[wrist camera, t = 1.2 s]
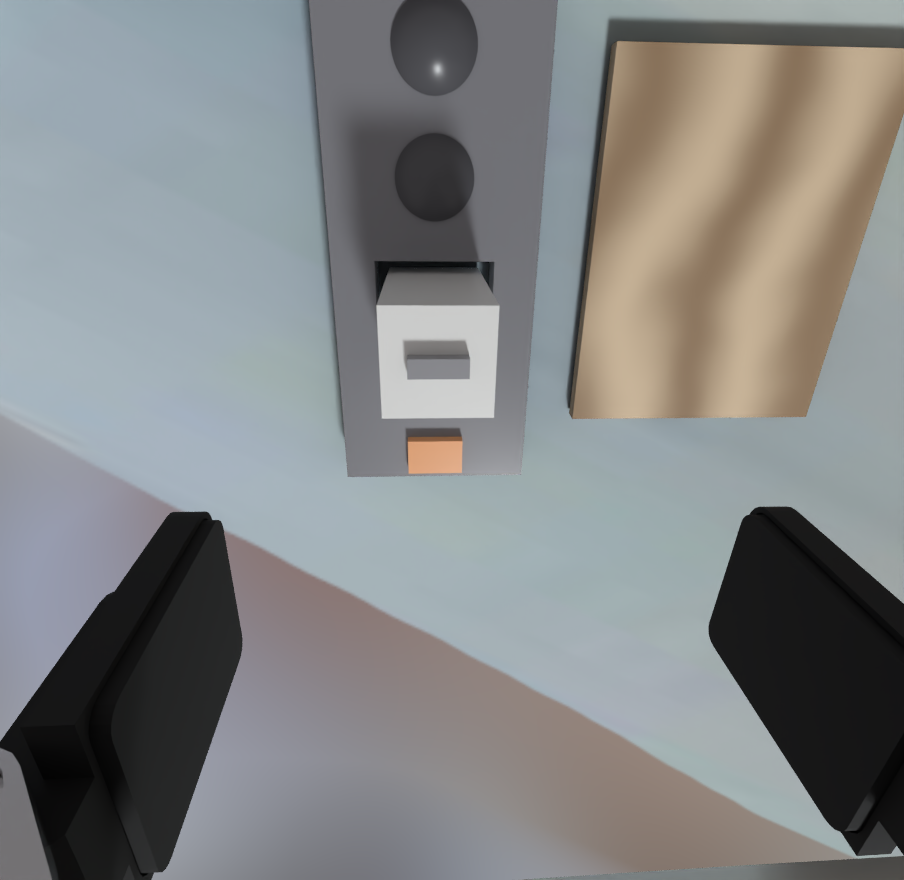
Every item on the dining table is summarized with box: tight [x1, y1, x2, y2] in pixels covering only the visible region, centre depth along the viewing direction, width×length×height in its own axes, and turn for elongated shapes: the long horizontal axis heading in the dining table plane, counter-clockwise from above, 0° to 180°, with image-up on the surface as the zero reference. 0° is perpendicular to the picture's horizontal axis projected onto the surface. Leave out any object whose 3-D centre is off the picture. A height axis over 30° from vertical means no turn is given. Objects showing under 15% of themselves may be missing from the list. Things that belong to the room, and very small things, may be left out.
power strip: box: [309, 0, 558, 477], centre depth 27 cm, size 10×24×3 cm, turn 179°
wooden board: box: [569, 41, 904, 419], centre depth 29 cm, size 14×18×1 cm
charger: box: [376, 267, 499, 419], centre depth 25 cm, size 5×5×10 cm
